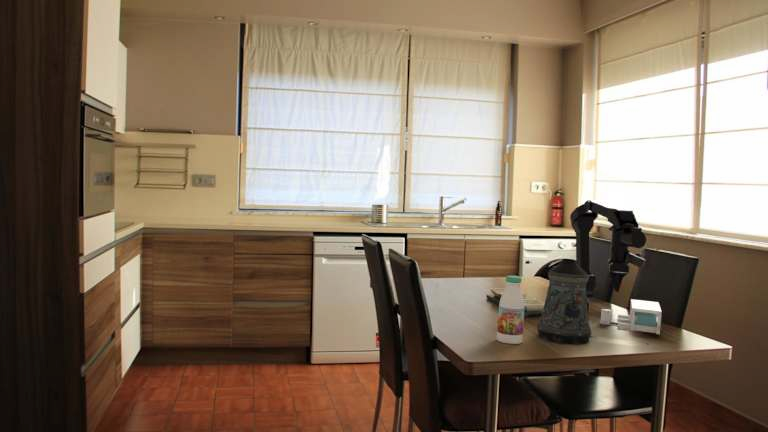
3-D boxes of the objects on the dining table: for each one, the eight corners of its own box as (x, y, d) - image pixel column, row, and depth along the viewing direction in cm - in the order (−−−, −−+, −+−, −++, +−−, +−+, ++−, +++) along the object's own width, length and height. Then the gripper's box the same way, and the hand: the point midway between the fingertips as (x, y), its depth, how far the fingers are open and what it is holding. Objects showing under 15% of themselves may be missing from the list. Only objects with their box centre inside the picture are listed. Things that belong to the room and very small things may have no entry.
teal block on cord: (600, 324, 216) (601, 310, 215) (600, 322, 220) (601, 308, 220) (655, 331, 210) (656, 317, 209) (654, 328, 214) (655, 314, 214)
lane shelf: (592, 329, 214) (594, 303, 213) (594, 319, 231) (595, 295, 230) (659, 338, 207) (661, 311, 206) (656, 327, 223) (658, 302, 223)
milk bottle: (493, 337, 196) (498, 273, 194) (518, 338, 196) (522, 274, 195) (500, 344, 188) (504, 278, 187) (525, 345, 189) (530, 279, 187)
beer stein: (553, 345, 190) (559, 263, 188) (523, 329, 209) (528, 254, 207) (601, 344, 194) (607, 264, 193) (567, 329, 213) (572, 255, 211)
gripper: (647, 249, 206) (643, 296, 207) (642, 244, 224) (639, 288, 225) (611, 246, 210) (607, 292, 211) (609, 242, 227) (606, 284, 228)
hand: (616, 289), depth 219 cm, fingers open, 9 cm apart
